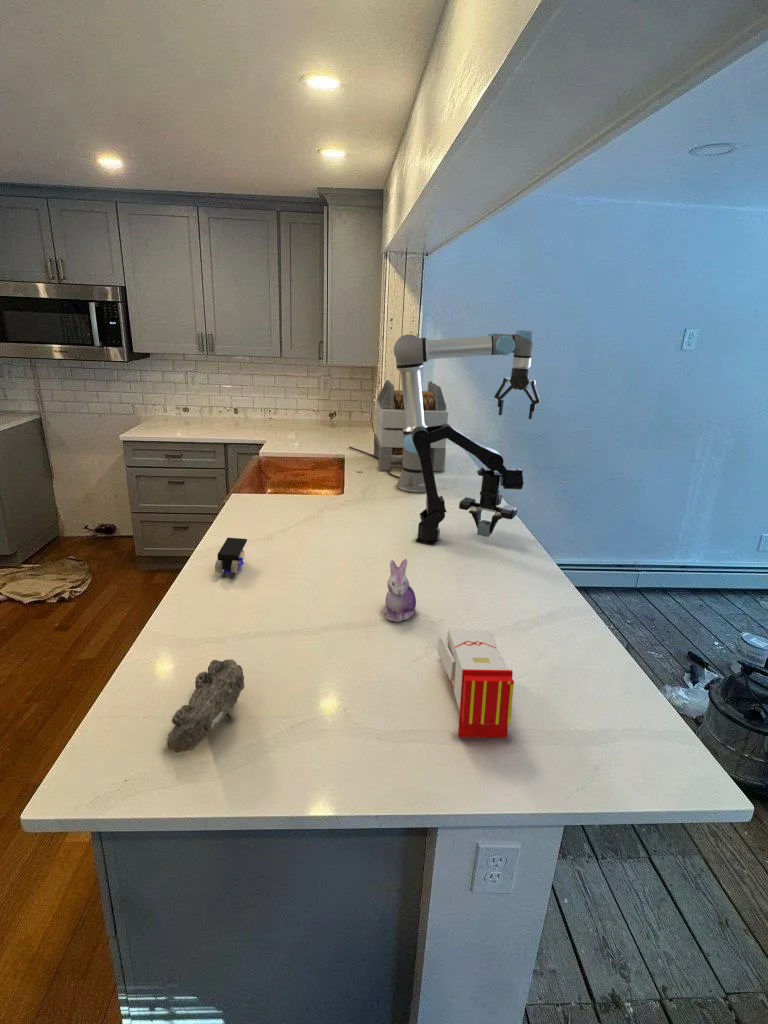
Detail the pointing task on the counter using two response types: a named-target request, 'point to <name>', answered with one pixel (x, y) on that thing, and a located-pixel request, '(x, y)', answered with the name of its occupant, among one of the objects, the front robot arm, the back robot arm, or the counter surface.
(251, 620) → the counter surface
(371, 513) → the counter surface
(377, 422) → the transformer
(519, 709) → the counter surface
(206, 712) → the fossil
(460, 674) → the toy
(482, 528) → the block
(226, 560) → the figurine character
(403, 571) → the figurine
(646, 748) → the counter surface
